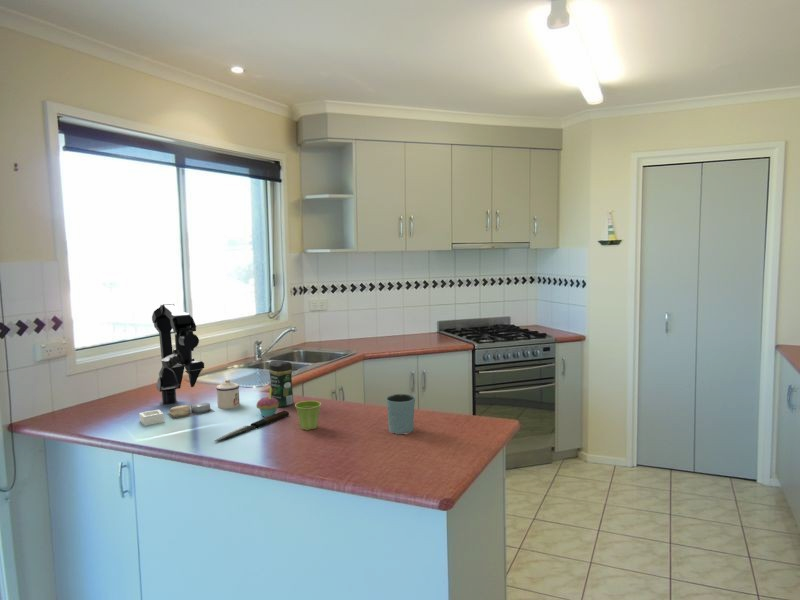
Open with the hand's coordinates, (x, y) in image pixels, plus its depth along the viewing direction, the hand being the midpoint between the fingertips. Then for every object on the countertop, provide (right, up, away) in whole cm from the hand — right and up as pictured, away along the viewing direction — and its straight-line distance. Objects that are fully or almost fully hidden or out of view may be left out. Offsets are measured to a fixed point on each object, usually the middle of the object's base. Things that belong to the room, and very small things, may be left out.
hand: (185, 385), depth 218 cm
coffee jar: (+35, -10, +15) cm, 39 cm away
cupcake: (+32, -12, 0) cm, 35 cm away
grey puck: (+4, -11, +5) cm, 13 cm away
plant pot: (+51, -13, -16) cm, 55 cm away
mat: (+1, -12, +3) cm, 12 cm away
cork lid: (-2, -11, +1) cm, 12 cm away
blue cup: (+84, -13, -22) cm, 88 cm away
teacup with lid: (+13, -11, +14) cm, 22 cm away
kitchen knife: (+30, -14, -15) cm, 36 cm away
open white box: (-10, -13, -7) cm, 18 cm away
